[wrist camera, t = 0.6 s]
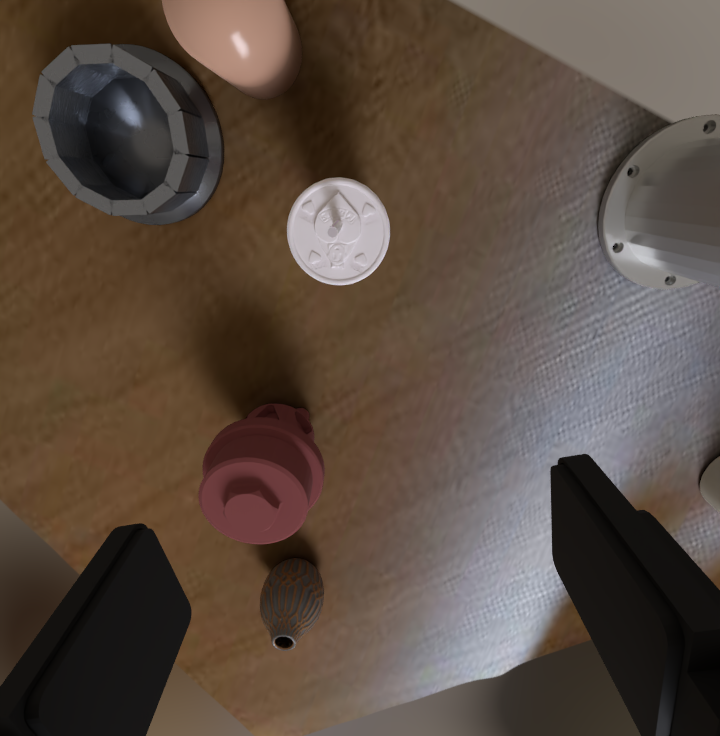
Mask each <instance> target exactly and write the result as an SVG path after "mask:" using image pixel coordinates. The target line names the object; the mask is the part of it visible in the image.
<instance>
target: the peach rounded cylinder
mask: <svg viewBox="0 0 720 736" xmlns="http://www.w3.org/2000/svg"><path fill="white" fill-rule="evenodd" d="M162 4H163V9H164V13H165V16H166V19H167V22H168V24H169V26H170V29H171V31H172V33H173V34H174V36H175V38H176V39H177V41H178V42H179V43H180V45H181V46H182V47H183V48H184V49H185V50H186V52H188V53H189V54H190V55H191V56H192V57H193V58H195V59H196V60H197V61H199V62H200V63H202V64H203V65H204V66H206V67H207V68H209V69H210V70H212V71H213V72H214V73H216V74H217V75H219V76H220V77H221V78H223V79H224V80H226V81H227V82H228V83H230V84H231V85H233V86H234V87H235V88H237V89H238V90H240V91H241V92H243V93H244V94H246V95H248V96H250V97H253V98H257V99H271V98H275V97H277V96H279V95H281V94H283V93H284V92H286V91H287V90H288V89H289V88H290V87H291V85H292V84H293V83H294V81H295V80H296V78H297V75H298V73H299V70H300V67H301V62H302V44H301V38H300V34H299V32H298V29H297V27H296V24H295V22H294V20H293V18H292V16H291V14H290V12H289V10H288V7H287V5H286V3H285V1H284V0H162Z"/></svg>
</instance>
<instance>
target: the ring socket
mask: <svg viewBox="0 0 720 736" xmlns="http://www.w3.org/2000/svg"><path fill="white" fill-rule="evenodd" d="M71 47H72V48H71ZM71 47H69V46H68V47H67V48H66V49H65V50H64V51H63V52H62V53H61V54H60V55H59V56H58V57H57V58H56V59H54V60H53V61H52V62H51V63H50V64H49V65H48V66H47V67H46V68H45V69H44V70H43V71H42V73H43V75H41V74H40V77H39V82H38V87H37V92H36V97H35V103H34V108H33V113H32V114H33V115H35V116H37V117H33V121H34V124H35V128H36V131H37V134H38V138H39V141H40V145H41V148H42V152H43V155H44V159H48V161H47V164H48V165H49V166H50V167H51V169H52V170H53V171H54V172H55V173H56V175H57V176H58V177H59V178H60V180H61V181H62V182H63V183H64V185H65V186H66V187H67V188H68V189H69V191H70V192H71V193H72V194H73V195H76V198H78V199H80V200H82V201H84V202H86V203H88V204H90V205H92V206H94V207H96V208H98V209H99V210H101V211H103V212H105V213H107V214H109V215H113V216H118V215H120V216H122V217H124V218H126V219H129V220H132V221H135V222H138V223H143V224H149V225H162V224H170V223H174V222H178V221H182V220H184V219H186V218H189V217H191V216H192V215H194V214H195V213H197V212H198V211H199V210H201V209H202V208H203V207H204V206H205V205H206V204H207V202H208V201H209V200H210V199H211V197H212V196H213V194H214V193H215V191H216V189H217V186H218V184H219V182H220V178H221V175H222V171H223V164H224V141H223V135H222V130H221V126H220V123H219V119H218V116H217V114H216V112H215V109H214V107H213V105H212V103H211V101H210V100H209V98H208V96H207V94H206V93H205V91H204V90H203V89H202V87H201V86H200V85H199V83H198V82H197V81H196V80H195V79H194V78H193V77H192V76H191V75H190V74H189V73H188V72H187V71H186V70H185V69H184V68H182V67H181V66H180V65H179V64H177V63H176V62H174V61H173V60H171V59H170V58H168V57H166V56H164V55H163V54H161V53H159V52H157V51H154V50H152V49H149V48H146V47H142V46H137V45H130V44H119V45H112V44H91V45H71Z"/></svg>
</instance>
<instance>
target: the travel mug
mask: <svg viewBox="0 0 720 736" xmlns="http://www.w3.org/2000/svg"><path fill="white" fill-rule="evenodd" d="M700 491H701V494H702V496H703V498H704V499H705V500H706V501H707V502H708V503H709V504H710V505H711V506H712V507H713V508H714V509H715V510H716V511H718V512H719V513H720V456H719V457H718V458H716V459H715V460H714V461H713V462H712V463H711V464H710V465H709V466H708V467H707V469H706V470H705V472H704V473H703V475H702V478H701V481H700Z"/></svg>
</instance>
